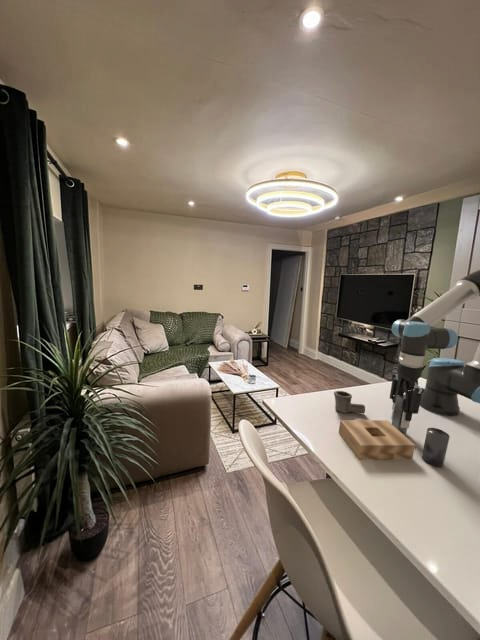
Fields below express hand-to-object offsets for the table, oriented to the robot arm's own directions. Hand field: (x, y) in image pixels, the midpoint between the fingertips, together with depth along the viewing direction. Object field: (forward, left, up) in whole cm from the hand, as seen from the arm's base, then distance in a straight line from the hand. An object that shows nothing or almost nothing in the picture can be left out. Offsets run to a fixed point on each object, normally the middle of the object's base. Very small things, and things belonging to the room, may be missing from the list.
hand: (399, 423), depth 98 cm
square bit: (0, 0, -3) cm, 3 cm away
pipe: (+13, -14, -3) cm, 19 cm away
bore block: (+15, +8, -3) cm, 17 cm away
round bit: (0, +16, -3) cm, 16 cm away
